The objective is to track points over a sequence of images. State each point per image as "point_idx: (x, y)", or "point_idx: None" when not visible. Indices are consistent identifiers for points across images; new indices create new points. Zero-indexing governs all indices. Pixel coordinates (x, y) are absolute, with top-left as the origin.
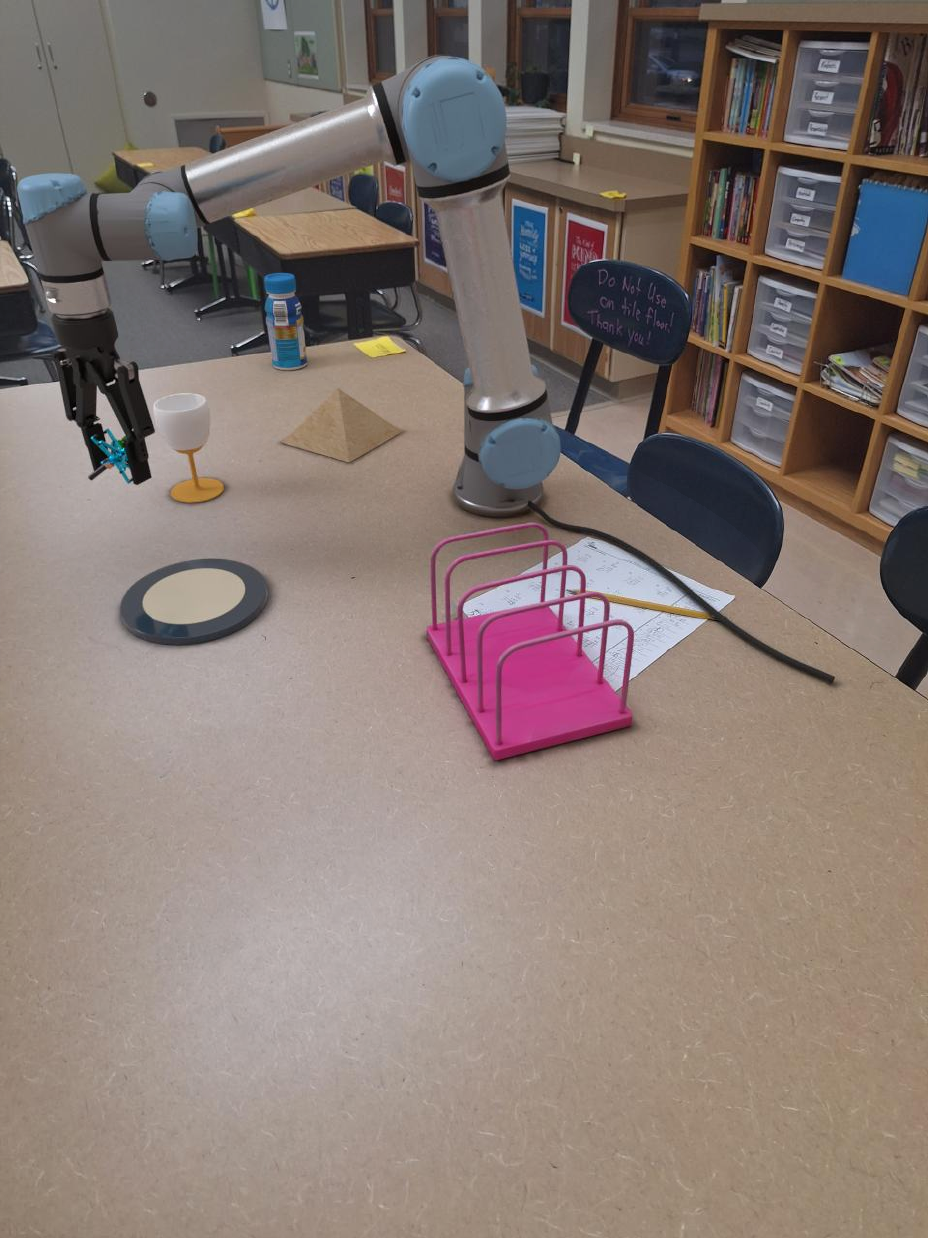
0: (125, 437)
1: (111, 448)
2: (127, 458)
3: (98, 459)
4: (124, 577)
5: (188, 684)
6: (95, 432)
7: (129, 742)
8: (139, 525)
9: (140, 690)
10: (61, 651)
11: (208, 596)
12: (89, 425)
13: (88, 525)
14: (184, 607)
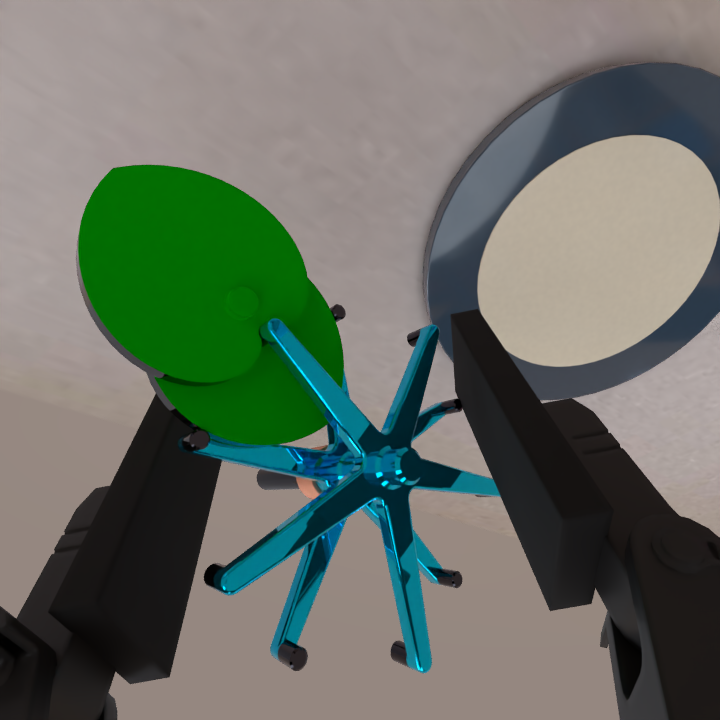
0: (137, 341)
1: (413, 566)
2: (501, 493)
3: (207, 463)
4: (360, 305)
5: (714, 399)
6: (153, 596)
7: (697, 487)
8: (110, 112)
9: (649, 442)
10: (470, 469)
11: (631, 251)
12: (94, 662)
13: (13, 225)
14: (605, 309)
